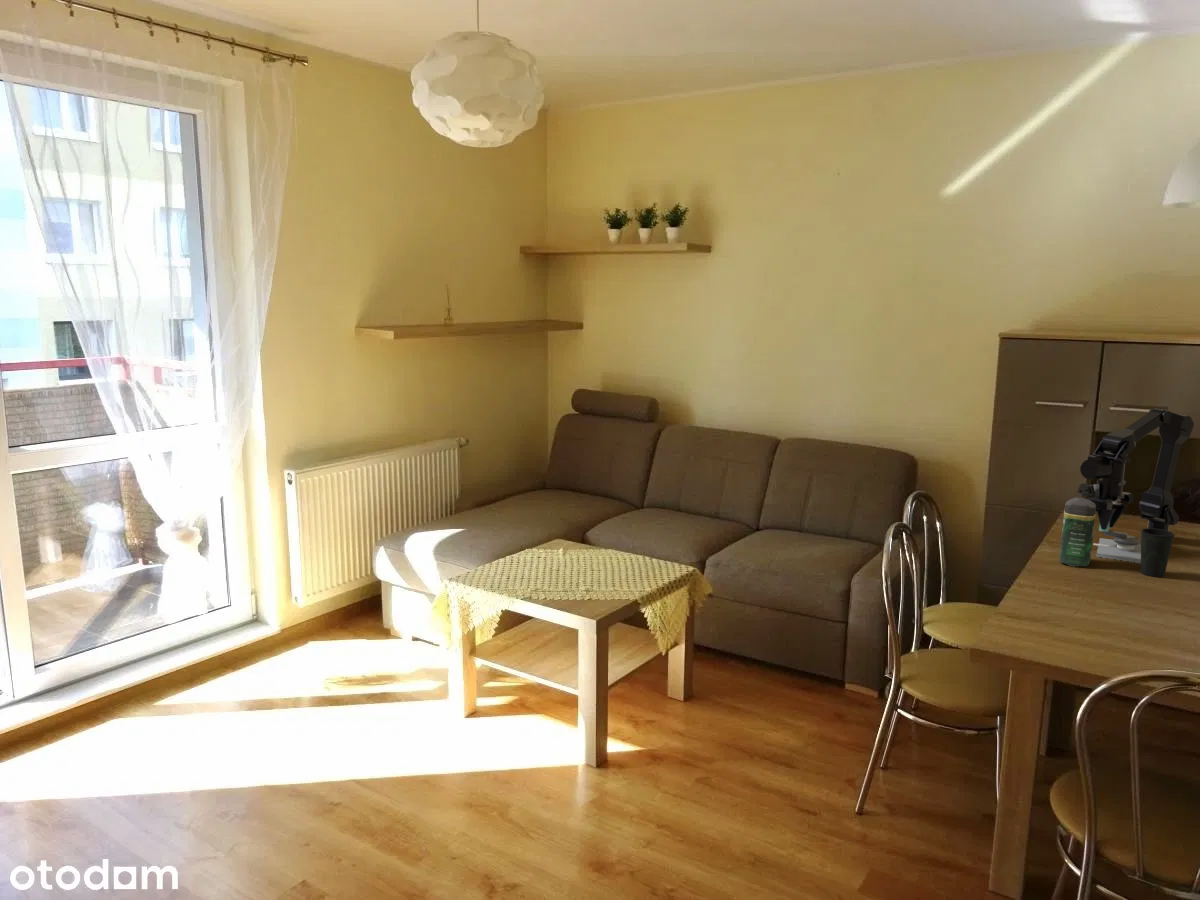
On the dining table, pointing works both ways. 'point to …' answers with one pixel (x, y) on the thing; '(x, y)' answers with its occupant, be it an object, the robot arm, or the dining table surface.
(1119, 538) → the handle
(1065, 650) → the dining table surface
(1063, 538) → the coffee jar
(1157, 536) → the cup
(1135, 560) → the base
